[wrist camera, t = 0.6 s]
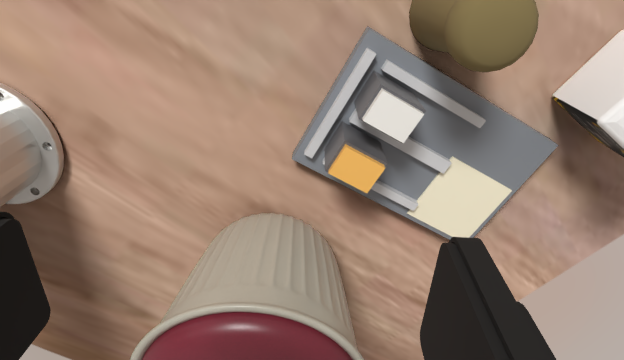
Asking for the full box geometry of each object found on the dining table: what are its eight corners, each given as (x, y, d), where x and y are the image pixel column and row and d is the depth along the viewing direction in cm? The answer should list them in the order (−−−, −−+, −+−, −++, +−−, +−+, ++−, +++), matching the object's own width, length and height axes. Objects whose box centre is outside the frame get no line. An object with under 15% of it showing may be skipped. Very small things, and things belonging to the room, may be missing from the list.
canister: (176, 291, 47) (81, 504, 28) (212, 159, 39) (113, 335, 20) (321, 331, 50) (322, 551, 31) (384, 215, 42) (435, 417, 23)
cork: (498, 21, 33) (573, 43, 23) (431, 65, 34) (475, 104, 25) (464, -48, 30) (531, -56, 21) (395, 3, 32) (426, 19, 22)
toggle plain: (393, 123, 35) (403, 146, 30) (354, 101, 34) (359, 121, 30) (413, 93, 34) (428, 113, 29) (373, 70, 33) (381, 86, 28)
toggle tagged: (362, 168, 37) (367, 196, 33) (324, 148, 36) (324, 174, 32) (380, 142, 36) (388, 167, 31) (341, 120, 35) (344, 143, 30)
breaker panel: (459, 238, 43) (466, 252, 41) (292, 152, 38) (291, 162, 36) (550, 139, 37) (563, 148, 35) (367, 26, 33) (370, 29, 31)
